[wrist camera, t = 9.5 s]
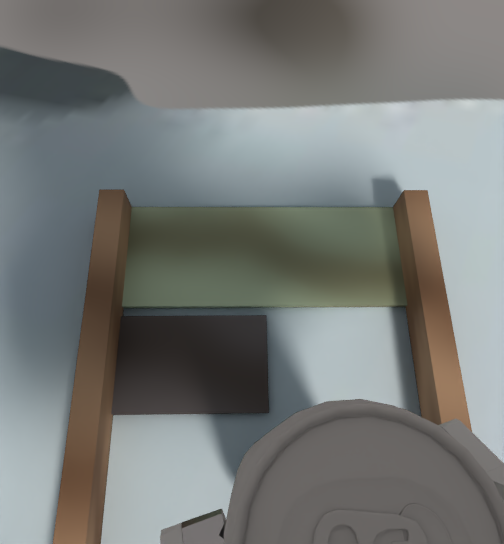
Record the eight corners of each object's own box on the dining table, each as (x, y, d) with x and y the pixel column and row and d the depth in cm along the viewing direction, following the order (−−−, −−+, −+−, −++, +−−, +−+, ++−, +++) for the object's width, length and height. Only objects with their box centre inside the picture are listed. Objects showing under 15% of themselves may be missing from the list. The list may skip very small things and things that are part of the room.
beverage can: (354, 562, 17) (566, 778, 6) (229, 554, 17) (204, 751, 6) (351, 430, 19) (510, 403, 8) (239, 422, 19) (233, 384, 8)
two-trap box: (537, 954, 14) (582, 1031, 12) (19, 979, 14) (-16, 1064, 12) (413, 210, 24) (427, 190, 22) (110, 209, 24) (99, 189, 22)
